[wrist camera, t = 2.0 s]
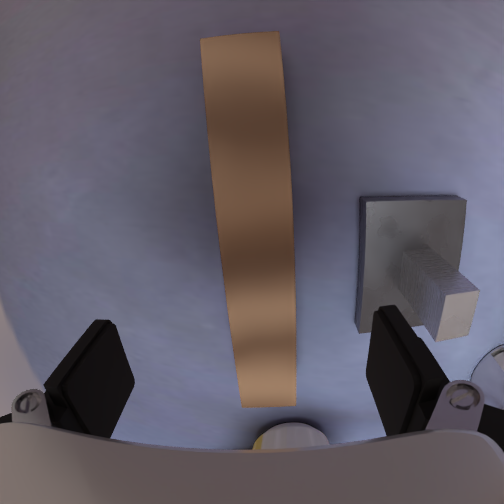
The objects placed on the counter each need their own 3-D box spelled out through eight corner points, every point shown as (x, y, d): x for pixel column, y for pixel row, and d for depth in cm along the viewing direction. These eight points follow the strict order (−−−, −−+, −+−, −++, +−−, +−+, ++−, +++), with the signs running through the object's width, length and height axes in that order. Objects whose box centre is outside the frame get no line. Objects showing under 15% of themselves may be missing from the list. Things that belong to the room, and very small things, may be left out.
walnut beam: (215, 59, 18) (199, 38, 13) (276, 53, 18) (279, 31, 13) (246, 365, 27) (242, 407, 22) (292, 363, 26) (295, 405, 22)
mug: (332, 397, 27) (348, 491, 18) (342, 450, 31) (354, 525, 21) (197, 419, 29) (178, 505, 20) (230, 466, 33) (222, 538, 23)
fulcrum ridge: (360, 197, 21) (406, 232, 13) (456, 195, 20) (523, 227, 13) (354, 322, 24) (381, 393, 17) (440, 311, 24) (484, 369, 16)
